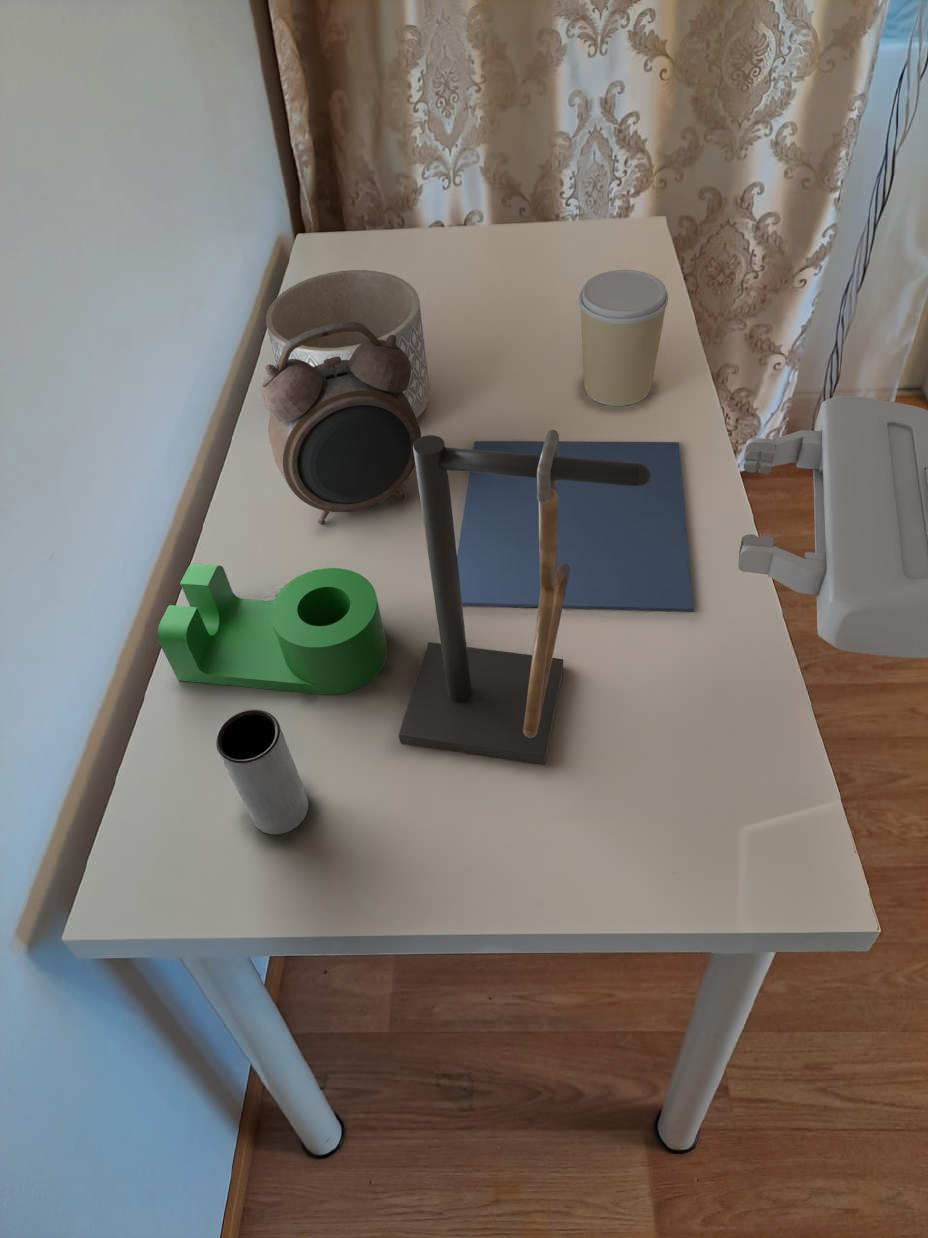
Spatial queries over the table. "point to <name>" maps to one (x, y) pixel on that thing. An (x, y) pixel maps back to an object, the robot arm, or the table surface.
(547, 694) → the rail
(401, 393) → the alarm clock
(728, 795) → the table surface
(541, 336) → the table surface
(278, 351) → the planter
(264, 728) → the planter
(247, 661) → the green bracket
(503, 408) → the table surface
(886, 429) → the robot arm
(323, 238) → the table surface
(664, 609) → the mat
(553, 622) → the hanger
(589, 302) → the coffee cup
